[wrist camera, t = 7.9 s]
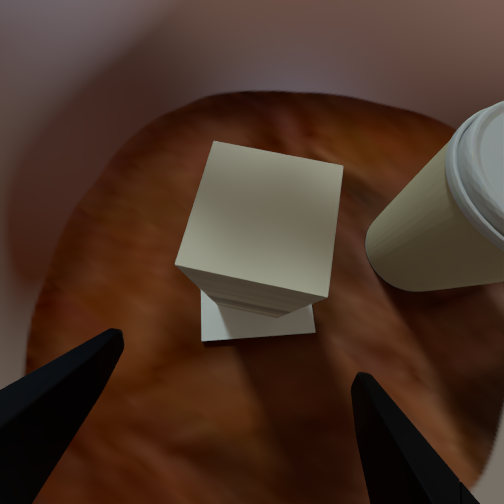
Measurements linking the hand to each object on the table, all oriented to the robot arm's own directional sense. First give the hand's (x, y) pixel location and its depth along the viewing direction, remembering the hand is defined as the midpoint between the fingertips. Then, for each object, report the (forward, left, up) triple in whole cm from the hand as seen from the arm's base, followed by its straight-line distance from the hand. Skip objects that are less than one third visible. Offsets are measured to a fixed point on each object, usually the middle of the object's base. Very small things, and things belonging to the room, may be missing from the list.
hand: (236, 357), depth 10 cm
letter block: (+5, -1, -11) cm, 12 cm away
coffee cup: (+7, -15, -11) cm, 20 cm away
